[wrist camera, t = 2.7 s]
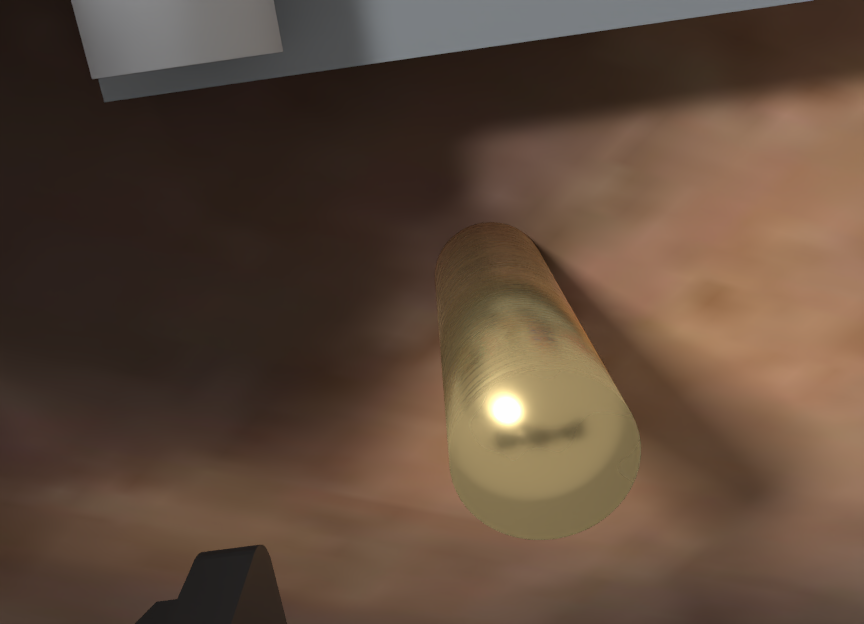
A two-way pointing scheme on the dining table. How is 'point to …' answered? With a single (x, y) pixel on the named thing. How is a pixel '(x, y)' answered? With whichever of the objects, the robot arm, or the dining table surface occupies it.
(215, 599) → the robot arm
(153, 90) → the hinge plate
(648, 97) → the dining table surface
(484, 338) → the brass pin
